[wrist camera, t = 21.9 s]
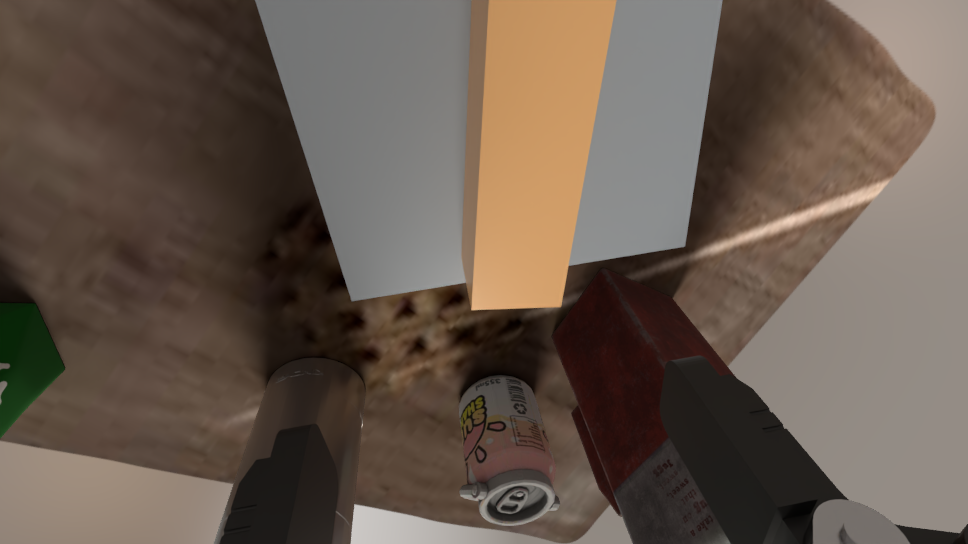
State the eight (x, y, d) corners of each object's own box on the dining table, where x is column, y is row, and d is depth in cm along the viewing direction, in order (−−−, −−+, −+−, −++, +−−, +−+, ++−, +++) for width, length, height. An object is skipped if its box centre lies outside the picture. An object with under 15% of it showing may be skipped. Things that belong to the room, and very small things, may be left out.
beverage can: (507, 437, 54) (530, 543, 44) (440, 422, 51) (448, 532, 41) (547, 381, 50) (583, 484, 40) (476, 362, 47) (495, 467, 37)
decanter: (538, 353, 48) (663, 722, 24) (602, 267, 43) (833, 620, 20) (607, 376, 51) (776, 721, 28) (673, 298, 46) (946, 634, 23)
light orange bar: (537, 256, 28) (561, 306, 24) (461, 257, 27) (471, 310, 23) (576, -25, 20) (620, -25, 16) (472, -33, 20) (490, -34, 15)
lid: (675, 237, 30) (685, 246, 29) (353, 289, 29) (351, 301, 28) (721, -92, 21) (736, -95, 20) (251, -36, 20) (243, -36, 19)
